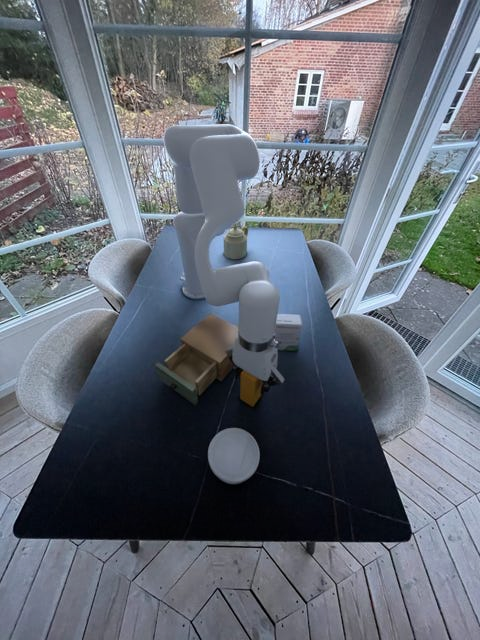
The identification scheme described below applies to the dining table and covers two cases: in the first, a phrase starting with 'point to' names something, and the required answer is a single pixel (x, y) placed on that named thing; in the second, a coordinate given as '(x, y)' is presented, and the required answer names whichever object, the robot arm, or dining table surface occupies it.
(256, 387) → the block
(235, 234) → the sugar bowl
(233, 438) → the ramekin
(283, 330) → the ink box
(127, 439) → the dining table surface
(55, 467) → the dining table surface
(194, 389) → the drawer
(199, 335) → the cabinet
